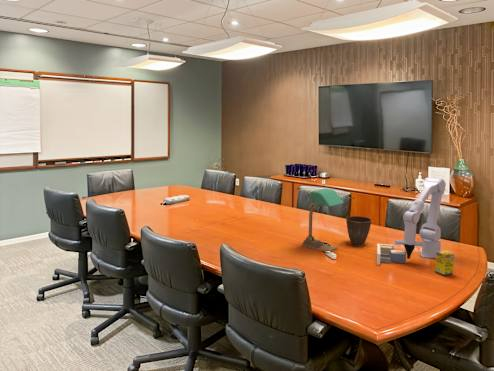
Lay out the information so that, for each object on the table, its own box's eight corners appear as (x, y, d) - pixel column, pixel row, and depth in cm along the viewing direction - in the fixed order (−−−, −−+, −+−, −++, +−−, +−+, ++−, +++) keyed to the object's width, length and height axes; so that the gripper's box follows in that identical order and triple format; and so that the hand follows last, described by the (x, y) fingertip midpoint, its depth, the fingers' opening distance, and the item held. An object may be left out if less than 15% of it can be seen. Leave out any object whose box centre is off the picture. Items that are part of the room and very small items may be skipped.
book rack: (393, 255, 242) (393, 245, 241) (394, 266, 224) (395, 255, 223) (376, 253, 244) (377, 243, 243) (376, 264, 226) (377, 253, 225)
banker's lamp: (313, 241, 267) (315, 186, 262) (342, 249, 253) (345, 190, 247) (298, 247, 256) (299, 189, 250) (327, 255, 242) (329, 194, 236)
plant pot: (374, 244, 262) (375, 218, 260) (363, 249, 251) (364, 223, 249) (352, 239, 272) (353, 215, 270) (340, 244, 261) (341, 219, 259)
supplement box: (444, 276, 210) (445, 254, 208) (434, 272, 216) (436, 251, 214) (452, 274, 212) (454, 253, 211) (443, 270, 218) (444, 249, 216)
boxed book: (404, 260, 232) (405, 251, 231) (405, 263, 228) (406, 253, 227) (389, 259, 234) (389, 249, 233) (389, 262, 230) (390, 252, 229)
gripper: (396, 234, 225) (394, 259, 227) (425, 236, 221) (423, 261, 224) (395, 231, 232) (393, 255, 234) (424, 233, 228) (422, 257, 230)
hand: (408, 258), depth 229 cm, fingers closed
